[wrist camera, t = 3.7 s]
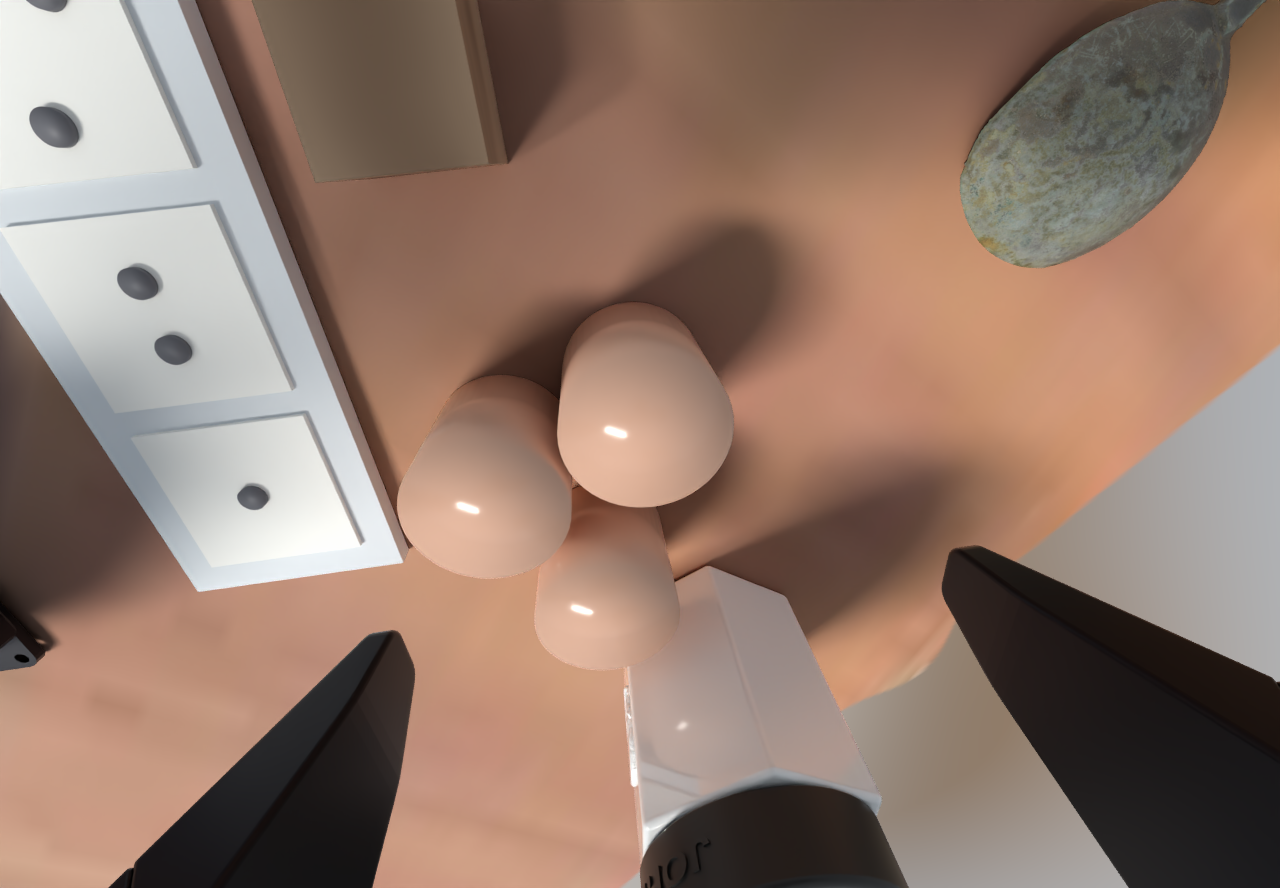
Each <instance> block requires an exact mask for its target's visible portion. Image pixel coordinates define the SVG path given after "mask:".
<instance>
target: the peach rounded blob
mask: <svg viewBox="0 0 1280 888" xmlns="http://www.w3.org/2000/svg"><path fill="white" fill-rule="evenodd" d="M733 432H734V415H733V410H732V405H731V403H730V400H729V397H728V395H727V393H726V391H725V389H724V387H723V386H722V384H721V382H720V381H719V379H718V377H717V376H716V374H715V372H714V371H713V369H712V367H711V366H710V364H709V362H708V361H707V359H706V357H705V356H704V354H703V352H702V351H701V349H700V347H699V346H698V344H697V342H696V341H695V339H694V337H693V336H692V334H691V332H690V331H689V330H688V328H687V327H686V326H685V324H684V323H683V322H682V321H681V320H680V319H679V318H677V317H676V316H675V315H673V314H672V313H670V312H669V311H667V310H665V309H663V308H661V307H658V306H656V305H652V304H648V303H642V302H624V303H618V304H614V305H611V306H608V307H605V308H603V309H601V310H599V311H597V312H596V313H594V314H592V315H591V316H590V317H588V318H587V319H586V320H585V321H584V322H583V323H582V324H581V325H580V326H579V327H578V328H577V329H576V331H575V332H574V334H573V335H572V337H571V339H570V341H569V342H568V345H567V348H566V350H565V354H564V359H563V369H562V380H561V392H560V404H559V415H558V428H557V438H558V446H559V450H560V454H561V457H562V459H563V462H564V464H565V466H566V467H567V469H568V471H569V472H570V474H571V475H572V476H573V478H574V479H575V480H576V481H577V482H578V483H579V484H580V485H581V486H582V487H583V488H585V489H586V490H587V491H589V492H590V493H591V494H593V495H595V496H597V497H598V498H600V499H603V500H605V501H608V502H610V503H614V504H617V505H621V506H628V507H654V506H660V505H665V504H668V503H672V502H675V501H677V500H680V499H682V498H684V497H686V496H688V495H690V494H692V493H693V492H695V491H696V490H698V489H699V488H701V487H702V486H703V485H704V484H705V483H707V482H708V481H709V480H710V479H711V478H712V477H713V475H714V474H715V473H716V472H717V471H718V469H719V468H720V467H721V465H722V464H723V462H724V460H725V458H726V456H727V454H728V452H729V449H730V446H731V443H732V438H733Z"/></svg>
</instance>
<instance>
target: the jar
mask: <svg viewBox="0 0 1280 888" xmlns="http://www.w3.org/2000/svg"><path fill="white" fill-rule="evenodd" d="M675 586H676V591H677V595H678V599H679V604H680V621H679V625H678V628H677V630H676V632H675V634H674V636H673V637H672V639H671V640H670V641H669V643H668V644H667V645H666V646H665V647H664V648H663V649H661V650H660V651H659V652H658V653H656V654H655V655H653V656H652V657H650V658H649V659H647V660H645V661H643V662H640V663H638V664H635V665H632V666H629V667H625V668H624V682H625V687H624V703H625V718H626V732H627V748H628V761H629V774H630V783H631V785H632V786H634V796H635V808H636V819H637V831H638V842H639V854H640V865H641V867H640V878H641V888H909V887H908V885H907V883H906V881H905V878H904V876H903V874H902V872H901V870H900V867H899V865H898V863H897V861H896V859H895V856H894V854H893V852H892V850H891V848H890V846H889V843H888V841H887V839H886V837H885V834H884V832H883V830H882V828H881V826H880V823H879V821H878V819H877V817H876V816H877V814H878V810H879V808H880V805H881V802H882V797H881V794H880V793H879V790H878V788H877V786H876V784H875V782H874V780H873V778H872V776H871V773H870V771H869V769H868V767H867V765H866V763H865V761H864V759H863V757H862V755H861V752H860V750H859V748H858V746H857V744H856V742H855V740H854V738H853V736H852V734H851V731H850V729H849V728H848V725H847V723H846V721H845V719H844V717H843V715H842V713H841V711H840V708H839V706H838V704H837V702H836V700H835V698H834V696H833V694H832V692H831V690H830V687H829V685H828V683H827V681H826V679H825V677H824V675H823V673H822V671H821V669H820V667H819V664H818V662H817V660H816V658H815V656H814V654H813V652H812V650H811V648H810V646H809V644H808V641H807V639H806V637H805V635H804V633H803V631H802V629H801V627H800V625H799V623H798V620H797V618H796V616H795V614H794V612H793V610H792V608H791V606H790V604H789V602H788V600H787V598H786V597H785V596H784V595H782V594H780V593H777V592H774V591H772V590H769V589H767V588H764V587H762V586H759V585H756V584H754V583H751V582H749V581H746V580H744V579H741V578H739V577H736V576H734V575H731V574H729V573H726V572H724V571H721V570H719V569H716V568H714V567H711V566H705V567H703V568H701V569H699V570H697V571H695V572H693V573H691V574H689V575H687V576H685V577H684V578H682V579H680V580H678V581H676V582H675Z"/></svg>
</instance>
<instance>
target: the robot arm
mask: <svg viewBox="0 0 1280 888" xmlns="http://www.w3.org/2000/svg"><path fill="white" fill-rule="evenodd" d="M942 594H943V597H944V600H945V602H946V604H947V606H948V607H949V609H950V611H951V613H952V615H953V616H954V618H955V620H956V622H957V624H958V626H959V627H960V629H961V631H962V633H963V635H964V637H965V638H966V640H967V642H968V644H969V646H970V648H971V649H972V651H973V653H974V655H975V657H976V658H977V660H978V662H979V664H980V666H981V668H982V669H983V671H984V673H985V675H986V676H987V678H988V679H989V681H990V683H991V685H992V687H993V688H994V690H995V691H996V693H997V694H998V696H999V697H1000V699H1001V700H1002V702H1003V703H1004V705H1005V706H1006V708H1007V709H1008V711H1009V712H1010V714H1011V715H1012V717H1013V718H1014V719H1015V721H1016V723H1017V724H1018V725H1019V727H1020V728H1021V730H1022V731H1023V733H1024V734H1025V736H1026V737H1027V739H1028V740H1029V742H1030V743H1031V745H1032V746H1033V747H1034V749H1035V750H1036V752H1037V753H1038V755H1039V756H1040V758H1041V759H1042V761H1043V762H1044V764H1045V765H1046V767H1047V768H1048V770H1049V771H1050V772H1051V774H1052V775H1053V777H1054V778H1055V780H1056V781H1057V783H1058V784H1059V786H1060V787H1061V789H1062V790H1063V792H1064V793H1065V795H1066V796H1067V797H1068V799H1069V801H1070V802H1071V804H1072V805H1073V806H1074V808H1075V809H1076V811H1077V812H1078V814H1079V815H1080V817H1081V818H1082V820H1083V821H1084V823H1085V824H1086V825H1087V827H1088V829H1089V830H1090V831H1091V833H1092V834H1093V836H1094V837H1095V839H1096V840H1097V842H1098V843H1099V845H1100V846H1101V848H1102V849H1103V851H1104V852H1105V854H1106V855H1107V856H1108V858H1109V859H1110V861H1111V862H1112V864H1113V865H1114V867H1115V868H1116V870H1117V871H1118V873H1119V874H1120V876H1121V877H1122V879H1123V880H1124V881H1125V883H1126V884H1127V886H1128V887H1129V888H1280V682H1276V681H1275V680H1274V679H1273V678H1272V677H1270V676H1267V675H1265V674H1263V673H1261V672H1258V671H1256V670H1254V669H1252V668H1250V667H1247V666H1245V665H1243V664H1241V663H1239V662H1236V661H1234V660H1232V659H1229V658H1228V657H1225V656H1223V655H1221V654H1219V653H1216V652H1214V651H1212V650H1210V649H1208V648H1205V647H1203V646H1201V645H1199V644H1196V643H1194V642H1192V641H1190V640H1188V639H1185V638H1183V637H1181V636H1179V635H1177V634H1174V633H1172V632H1170V631H1168V630H1165V629H1163V628H1161V627H1159V626H1156V625H1154V624H1152V623H1150V622H1148V621H1145V620H1143V619H1141V618H1139V617H1137V616H1134V615H1132V614H1130V613H1128V612H1126V611H1123V610H1121V609H1119V608H1117V607H1115V606H1112V605H1110V604H1108V603H1106V602H1103V601H1101V600H1099V599H1097V598H1095V597H1092V596H1090V595H1088V594H1086V593H1083V592H1081V591H1079V590H1077V589H1075V588H1072V587H1070V586H1068V585H1065V584H1064V583H1061V582H1059V581H1057V580H1055V579H1052V578H1050V577H1048V576H1045V575H1044V574H1041V573H1039V572H1037V571H1035V570H1032V569H1030V568H1028V567H1026V566H1024V565H1021V564H1019V563H1017V562H1015V561H1013V560H1010V559H1008V558H1006V557H1004V556H1001V555H999V554H997V553H995V552H993V551H990V550H988V549H986V548H984V547H981V546H975V545H973V546H966V547H959V548H955V549H953V550H952V551H951V552H950V553H949V556H948V560H947V564H946V568H945V573H944V577H943V581H942ZM44 656H45V651H44V649H43V648H42V647H41V646H40V645H39V644H38V643H37V642H36V640H35V639H34V638H33V637H32V636H31V635H30V634H29V633H28V632H27V631H26V629H25V628H24V627H23V626H22V625H21V624H20V623H19V622H18V621H17V620H16V618H15V617H14V616H13V615H12V614H11V613H10V612H9V611H8V610H7V609H6V607H5V606H4V605H3V604H2V603H1V602H0V671H4V670H11V669H18V668H25V667H31V666H34V665H35V664H36V663H37V662H38V661H39V660H40V659H41V658H43V657H44ZM414 683H415V668H414V664H413V662H412V659H411V657H410V655H409V652H408V650H407V648H406V646H405V643H404V641H403V639H402V636H401V635H400V633H399V632H397V631H395V630H390V631H383V632H377V633H372V634H369V635H368V636H367V637H365V638H364V639H363V640H362V641H361V642H360V643H359V644H358V645H357V646H356V647H355V648H354V649H353V650H352V651H351V652H350V653H349V654H348V655H347V656H346V657H345V658H344V659H343V660H342V661H341V662H340V663H339V664H338V665H337V666H335V667H334V668H333V669H332V670H331V671H330V672H329V673H328V674H327V675H326V676H325V677H324V678H323V679H322V680H321V681H320V682H319V683H318V684H317V685H316V686H315V687H314V688H313V689H312V690H311V691H310V692H309V693H308V694H307V695H306V696H305V697H304V698H303V699H302V700H301V701H300V702H299V703H298V704H297V705H296V706H294V707H293V708H292V709H291V710H290V711H289V712H288V713H287V714H286V715H285V716H284V717H283V718H282V719H281V720H280V721H279V722H278V723H277V724H276V725H275V726H274V727H273V728H272V729H271V730H270V731H269V732H268V733H267V734H266V735H265V736H264V737H263V738H262V739H261V740H260V741H259V742H258V743H257V744H256V745H254V746H253V747H252V748H251V749H250V750H249V751H248V752H247V753H246V754H245V755H244V756H243V757H242V758H241V759H240V760H239V761H238V762H237V763H236V764H235V765H234V766H233V767H232V768H231V769H230V770H229V771H228V772H227V773H226V774H225V775H224V776H223V777H222V778H221V779H220V780H219V781H218V782H217V783H216V784H215V785H213V786H212V787H211V788H210V789H209V790H208V791H207V792H206V793H205V794H204V795H203V796H202V797H201V798H200V799H199V800H198V801H197V802H196V803H195V804H194V805H193V806H192V807H191V808H190V809H189V810H188V811H187V812H186V813H185V814H184V815H183V816H182V817H181V818H180V819H179V820H178V821H177V822H176V823H175V824H173V825H172V826H171V827H170V828H169V829H168V830H167V831H166V832H165V833H164V834H163V835H162V836H161V837H160V838H159V839H158V840H157V841H156V842H155V843H154V844H153V845H152V846H151V847H150V848H149V849H148V850H147V851H146V852H145V853H144V854H143V855H142V856H141V857H140V858H139V859H138V860H137V861H136V862H135V865H134V868H129V869H127V870H126V871H125V872H124V873H123V874H122V875H121V876H120V877H119V878H118V879H117V880H116V881H115V882H114V883H113V884H112V885H111V886H110V887H109V888H372V887H373V883H374V879H375V875H376V871H377V867H378V863H379V859H380V855H381V852H382V848H383V844H384V840H385V836H386V832H387V828H388V824H389V820H390V817H391V813H392V809H393V805H394V801H395V797H396V793H397V788H398V784H399V780H400V774H401V768H402V763H403V756H404V749H405V743H406V736H407V729H408V723H409V716H410V709H411V703H412V696H413V689H414Z"/></svg>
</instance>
